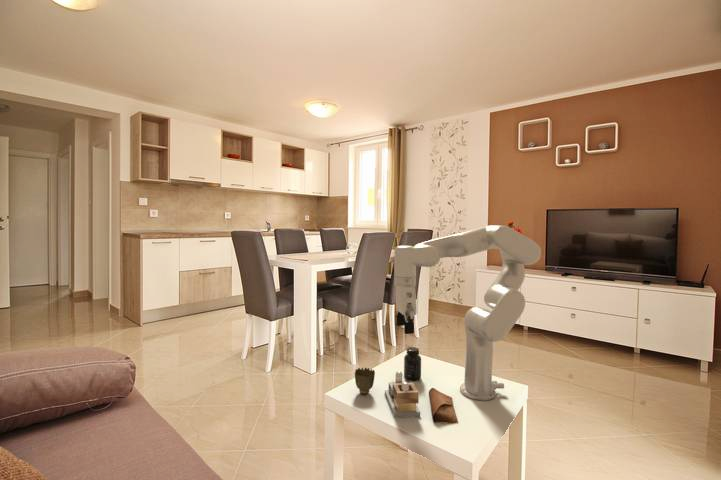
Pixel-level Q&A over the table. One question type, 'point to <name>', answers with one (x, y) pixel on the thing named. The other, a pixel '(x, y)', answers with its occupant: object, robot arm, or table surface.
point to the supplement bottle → (412, 365)
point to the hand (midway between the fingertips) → (404, 329)
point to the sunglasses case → (442, 407)
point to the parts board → (394, 410)
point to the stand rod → (397, 380)
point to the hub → (405, 407)
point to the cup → (364, 380)
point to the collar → (405, 394)
